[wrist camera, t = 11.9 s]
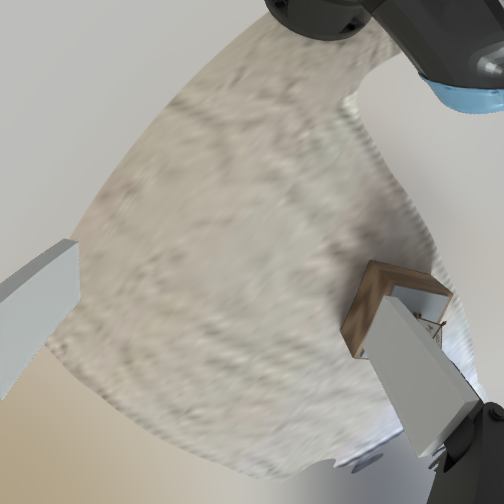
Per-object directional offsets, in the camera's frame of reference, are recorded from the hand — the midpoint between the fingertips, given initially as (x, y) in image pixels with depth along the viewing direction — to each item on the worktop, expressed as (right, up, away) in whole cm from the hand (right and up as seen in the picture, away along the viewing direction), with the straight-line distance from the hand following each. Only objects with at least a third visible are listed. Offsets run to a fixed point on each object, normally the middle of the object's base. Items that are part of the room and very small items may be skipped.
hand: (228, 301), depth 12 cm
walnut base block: (+23, -7, +34) cm, 41 cm away
